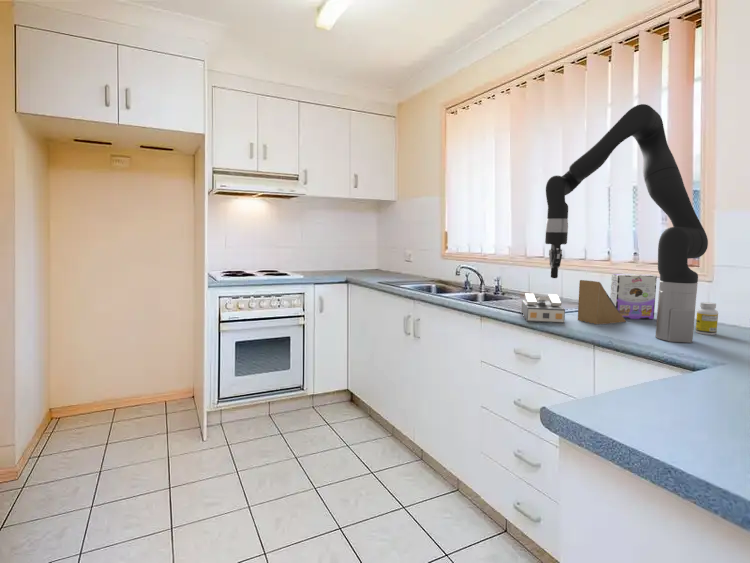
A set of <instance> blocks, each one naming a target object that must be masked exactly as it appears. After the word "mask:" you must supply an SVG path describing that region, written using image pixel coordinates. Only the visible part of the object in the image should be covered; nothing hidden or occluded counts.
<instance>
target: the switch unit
mask: <svg viewBox="0 0 750 563" xmlns="http://www.w3.org/2000/svg"><path fill="white" fill-rule="evenodd" d="M520 309H521V312H522V313H523V314H524V316H523V318H524V317H525V318H524V319H525V321H526V322H531V323H546V322H552V323H551V324H565V316H566V308H565V307H563V306H562V305H561V306H552V305H551V303H550V301H546V302H537V305H527V302H526V300H521V308H520ZM521 312H520V313H521ZM522 313H521V314H522Z"/></svg>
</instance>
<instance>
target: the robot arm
mask: <svg viewBox="0 0 750 563" xmlns="http://www.w3.org/2000/svg"><path fill="white" fill-rule="evenodd" d="M663 122H664V121H663V118H662V116H661V115H660V114H659V112H657V111H656V110H655V109H654V108H653V107H652V106H651V105H649V104H644V103H643V104H642V103H641V104H637V105H635V106H633V107H632V108H630V109H629V110H628V111H627V112H625V113H624V115H623V116H621V118H620V119H618V121H617V122H616V123H615V124H614V125H613V126H612V127H611V128H610V129H609V130H608V131H607V132H606V133H605V135H603V136H602V138H600V140H598V141H597V143H596V144H594V145H593V146H592V147H591V148H590V149H589V150H588V151H585V153H584V154H582V155H581V156H580V157H578V158H577V159H576V160H575V161H574V162H572V163H571V164H570V165H569V167H568V170H567V171H566V172H565V174H563V175H552V176H551V177H550V178H549V179H548V180H547V181H546V185H545V197H546V203H547V216H546V218H547V219H546V223H545V224H546V225H545V241H544V244H546V245H550V249H549V250H548V256H549V258H548V260H549V266H550V268H551V269H550V278H552V279H557V278H558V277H559V276H558V275H559V268H560V267H561V263H562V262H561V261H562V258H563V249H562V248H561V247H562V245H567V244H568V234H569V233H568V231H569V230H568V229H569V222H568V221H569V220H568V219H569V205H568V204H567V202H566V196H568V195H569V194H570V193H572V192H573V191H574V190H575V189H576V188H577V187H578V186H579V185H581V183H582V182H583V181H584V180H585V179H587V178H588V177H589V176H591V175H592V174H593V173H595V172H596V171H597V170H599V168H601V167H602V166H603V165H604V164H605V163H606V161H607V160H608V158H609V157H610V155H611V154H612V153H613V151H615V149H616V148H617V147H618V146H619V145H620V144H621V143H622V142H624V141H625V140H627V139H628V138H630V137H633V138H634V140H635V142H636V143H637V145H638V147H639V149H640V152H641V154H642V160H643V162H642V175H643V180H644V183H645V186H646V189H647V193H648V195H649V196H650V198H651V199H652V201H653V202H654V203H655V204H656V205H657V206H658V207H659V208H660V210H662V211H663V212H664V214H666V215H667V217H668V218H669V220H670V222H671V224H672V226H671V227H668V228H666V229H664V230H663V232H662V233H661V234H660V236H659V239H658V244H657V245H658V247H657V272H658V273H659V287H658V300H657V312H656V324H655V338H656V339H659V340H662V341H666V342H671V343H672V342H674V343H688V344H690V343H691V344H692V343H693V340H694V339H693V338H694V328H695V316H696V306H697V305H696V304H697V302H696V301H697V296H698V295H697V294H698V284H699V283H698V282H699V274H698V272H696V271H694V270H692V269H691V268H690V267H689V265H688V264H689V263H688V259H689V260H690V259H697V258H700V257H703V255H705V253H706V252H707V250H708V246H709V239H708V236H707V233H706V231H705V228H704V227H703V225H702V223H701V220H700V219H699V216H698V215H697V213H696V211H695V210H694V207H693V204H692V202H691V200H690V197H689V194H688V192H687V189H686V186H685V184H684V180H683V178H682V175H681V172H680V169H679V166H678V164H677V162H676V160H675V157H674V155H673V153H672V151H671V149H670V147H669V145H668V140H667V136H666V132H665V127H664V123H663Z"/></svg>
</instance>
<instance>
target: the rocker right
mask: <svg viewBox="0 0 750 563" xmlns="http://www.w3.org/2000/svg"><path fill="white" fill-rule="evenodd" d="M547 297H549V302H550V303H551V305H552V306H562V303H563V302H562V301H561V298H560V297H559V296H558V294H552V293H551V294H550V293H548V294H547Z"/></svg>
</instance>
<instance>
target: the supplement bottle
mask: <svg viewBox="0 0 750 563" xmlns="http://www.w3.org/2000/svg"><path fill="white" fill-rule="evenodd" d="M699 306H700V308H699V309H697V311H696V321H695V332H696V333H697V334H700V335H708V336H714V335H715V336H716V335H717V332H718V321H719V312H718V310H716V308H717V303H715V302H710V301H701V302H700V303H699Z"/></svg>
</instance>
